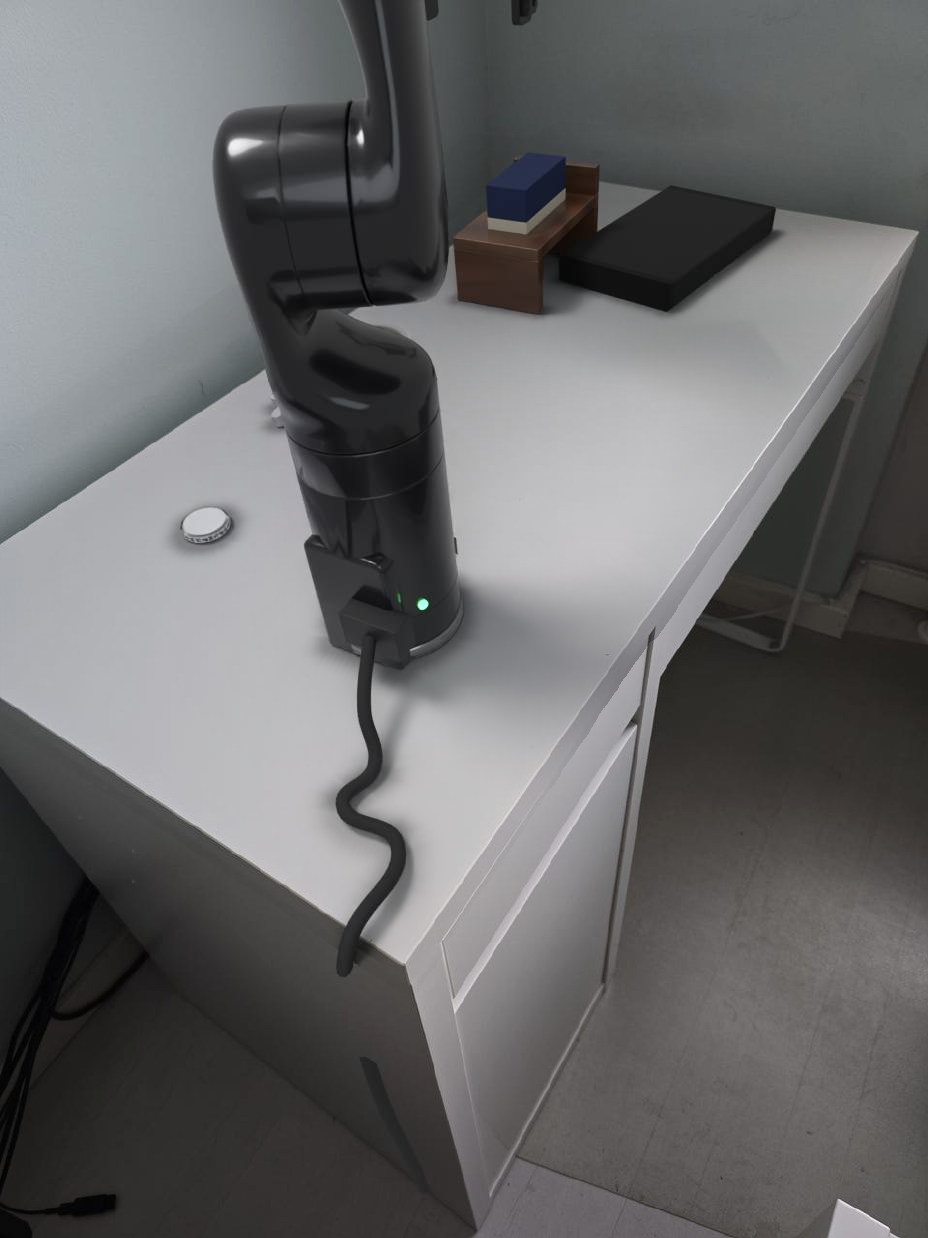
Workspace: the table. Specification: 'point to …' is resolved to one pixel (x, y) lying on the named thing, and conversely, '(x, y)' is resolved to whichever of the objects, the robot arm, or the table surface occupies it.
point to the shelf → (525, 247)
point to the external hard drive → (666, 246)
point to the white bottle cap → (205, 524)
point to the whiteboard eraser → (526, 193)
